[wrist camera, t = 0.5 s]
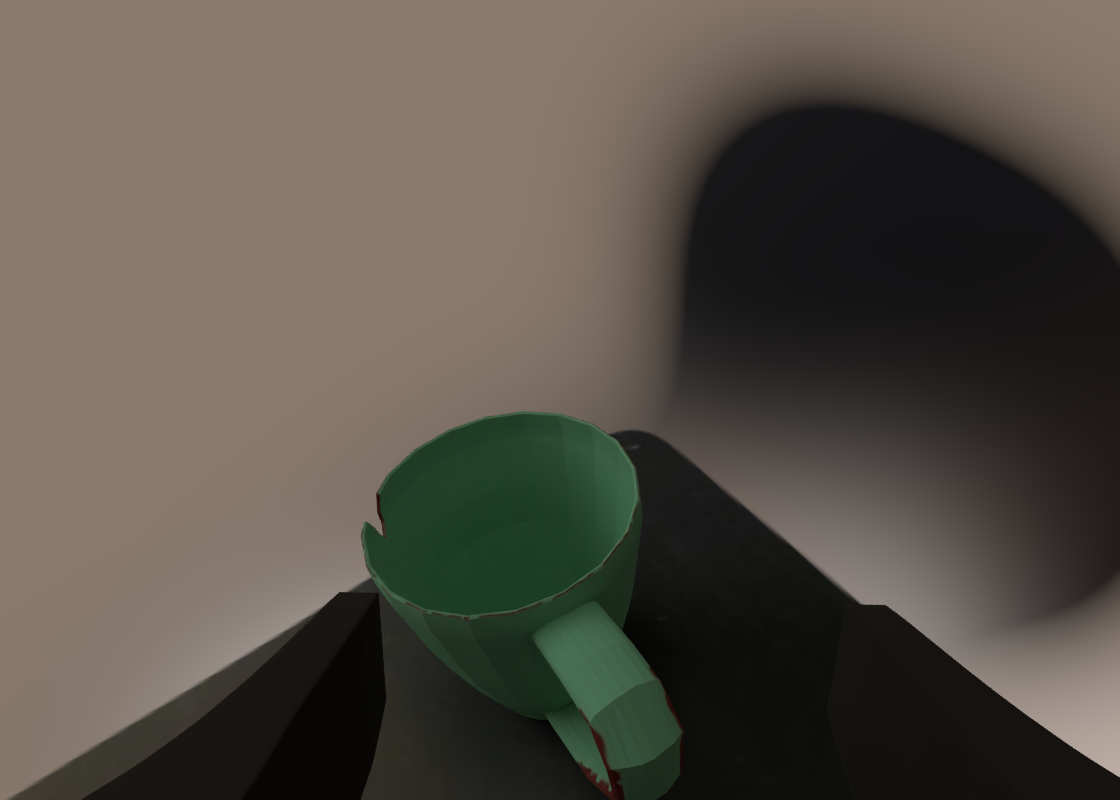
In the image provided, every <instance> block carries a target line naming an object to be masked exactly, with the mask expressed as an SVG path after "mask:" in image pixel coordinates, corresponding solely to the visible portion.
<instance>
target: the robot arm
mask: <svg viewBox="0 0 1120 800" xmlns="http://www.w3.org/2000/svg"><path fill="white" fill-rule="evenodd" d="M385 703H386V689H385V675H384V661H383V647H382V633H381V619H380V605H379V593H352V592H339V593H338V594H337V595H336V596H335V597H334V598H332V599H331V600H330V601H329V602H328V603H327V604H326V605H325V606H324V607H323V608H322V609H321V610H320V611H319V612H318V613H317V614H316V615H315V616H314V617H313V618H312V619H311V620H310V621H309V622H308V623H307V624H306V625H304V626H303V627H302V628H301V629H300V630H299V631H298V632H297V633H296V634H295V635H294V636H293V637H292V638H291V639H290V640H289V641H288V642H287V643H286V644H285V645H284V646H283V647H282V648H281V649H280V650H279V651H277V652H276V653H275V654H274V655H273V656H272V657H271V658H270V659H269V660H268V661H267V662H266V663H264V664H263V665H262V666H261V667H260V668H259V669H258V670H257V671H256V672H255V673H254V674H253V675H252V676H250V677H249V678H248V679H247V680H246V681H245V682H244V683H243V684H241V685H240V686H239V687H238V688H237V689H236V690H234V691H233V692H232V693H231V694H230V695H228V696H227V697H226V698H225V699H224V700H222V701H221V702H220V703H219V704H218V705H216V706H215V707H214V708H213V709H212V710H211V711H209V712H208V713H207V714H206V715H205V716H203V717H202V718H201V719H200V720H198V721H197V722H196V723H194V724H193V725H192V726H190V727H189V728H188V729H186V730H185V731H184V732H182V733H181V734H180V735H178V736H177V737H176V738H174V739H173V740H172V741H170V742H169V743H167V744H166V745H165V746H163V747H162V748H160V749H159V750H157V751H156V752H155V753H153V754H152V755H150V756H149V757H148V758H146V759H145V760H143V761H142V762H140V763H139V764H137V765H136V766H134V767H133V768H131V769H130V770H128V771H127V772H125V773H124V774H122V775H120V776H119V777H117V778H115V779H114V780H112V781H111V782H109V783H107V784H106V785H104V786H103V787H101V788H99V789H98V790H96V791H94V792H93V793H91V794H90V795H88V796H86V797H85V798H83V799H81V800H361V797H362V794H363V791H364V788H365V785H366V782H367V779H368V776H369V773H370V770H371V767H372V764H373V760H374V755H375V751H376V746H377V742H378V737H379V733H380V728H381V723H382V718H383V713H384V708H385ZM827 713H828V716H829V720H830V724H831V728H832V731H833V735H834V739H835V743H836V746H837V750H838V753H839V756H840V760H841V763H842V767H843V770H844V773H845V776H846V778H847V781H848V783H849V786H850V788H851V791H852V793H853V795H854V798H855V800H1120V777H1118V776H1116V775H1115V774H1113V773H1112V772H1110V771H1108V770H1107V769H1105V768H1103V767H1102V766H1100V765H1099V764H1097V763H1095V762H1094V761H1092V760H1091V759H1089V758H1088V757H1086V756H1085V755H1083V754H1082V753H1080V752H1079V751H1077V750H1076V749H1074V748H1073V747H1071V746H1070V745H1068V744H1067V743H1065V742H1064V741H1062V740H1061V739H1059V738H1058V737H1057V736H1055V735H1054V734H1052V733H1051V732H1050V731H1048V730H1047V729H1045V728H1044V727H1043V726H1041V725H1040V724H1038V723H1037V722H1035V721H1034V720H1033V719H1031V718H1030V717H1028V716H1027V715H1026V714H1024V713H1023V712H1022V711H1020V710H1019V709H1017V708H1016V707H1015V706H1014V705H1012V704H1011V703H1010V702H1008V701H1007V700H1006V699H1004V698H1003V697H1002V696H1000V695H999V694H997V693H996V692H995V691H993V690H992V689H991V688H990V687H988V686H987V685H986V684H985V683H983V682H982V681H981V680H980V679H978V678H977V677H976V676H974V675H973V674H972V673H971V672H969V671H968V670H967V669H966V668H964V667H963V666H962V665H961V664H959V663H958V662H957V661H956V660H954V659H953V658H952V657H951V656H949V655H948V654H947V653H946V652H944V651H943V650H942V649H941V648H940V647H938V646H937V645H936V644H935V643H933V642H932V641H931V640H930V639H928V638H927V637H926V636H925V635H923V634H922V633H921V632H920V631H918V630H917V629H916V628H915V627H914V626H912V625H911V624H910V623H908V622H907V621H906V620H905V619H903V618H902V617H901V616H900V615H898V614H897V613H896V612H894V611H893V610H891V609H890V608H889V607H887V606H886V605H857V604H846V606H845V611H844V617H843V622H842V628H841V634H840V639H839V645H838V650H837V656H836V661H835V667H834V672H833V678H832V684H831V689H830V695H829V700H828V706H827Z"/></svg>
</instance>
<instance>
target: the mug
mask: <svg viewBox="0 0 1120 800" xmlns="http://www.w3.org/2000/svg"><path fill="white" fill-rule="evenodd" d="M376 497H377V513H378V515H379V518H380V520H381V523H382V530H383V536H382V535H380V534H379V533H378V531H377V530H376V529H375V528H374V527H373V526H372V525H370V524H369V523H368V522H364V525H363V529H362V533H361V540H362V545H363V551H364V556H365V562H366V567H367V569H368V571H369V573H370V575H371V577H372V579H373V581H374V582H375V584H376V585H377V587H378V588H379V589H380V591H381V592H382V593H383V595H384V596H385V597H386V599H387V600H388V601H389V603H390V604H391V605H392V607H393V608H394V609H395V611H396V612H397V613H398V614H399V615H400V616H401V617H402V618H403V619H404V621H405V622H406V623H407V624H408V625H409V626H410V628H411V629H412V630H413V631H414V632H415V633H416V635H417V636H418V637H419V638H420V639H421V640H422V642H423V643H424V644H425V645H426V646H427V647H428V648H429V649H430V650H431V651H432V652H433V653H434V654H435V655H436V656H437V657H438V658H439V659H440V660H441V661H442V662H444V663H445V664H446V665H447V666H448V667H449V668H450V669H451V670H452V671H453V672H455V673H456V674H457V675H459V676H460V677H461V678H463V679H464V680H465V681H466V682H468V683H469V684H470V685H472V686H473V687H474V688H476V689H477V690H478V691H479V692H481V693H483V694H485V695H486V696H488V697H490V698H491V699H493V700H495V701H497V702H498V703H500V704H502V705H504V706H505V707H507V708H509V709H511V710H513V711H514V712H516V713H518V714H520V715H522V716H523V717H528V718H533V719H538V720H549V722H550V723H551V725H552V726H553V728H554V729H555V731H556V732H557V734H558V735H559V737H560V738H561V740H562V741H563V743H564V744H565V746H566V747H567V749H568V750H569V751H570V753H571V754H572V756H573V757H574V759H575V760H576V762H577V763H578V765H579V766H580V768H581V769H582V771H583V772H584V774H585V775H586V777H587V778H588V779H589V780H590V781H591V782H592V783H594V784H595V785H596V786H597V787H598V788H599V789H600V790H601V791H602V792H603V793H604V794H605V795H606V796H607V797H608V798H610V799H611V800H657V799H658V798H660V797H661V796H662V795H664V794H665V793H667V792H668V790H669V789H670V788H671V786H672V785H673V784H674V782H675V781H676V780H677V778H678V777H679V775H680V773H681V771H682V769H683V727H682V725H681V723H680V721H679V719H678V717H677V714H676V712H675V710H674V708H673V706H672V704H671V702H670V699H669V697H668V695H667V693H666V691H665V689H664V687H663V684H662V682H661V681H660V679H659V678H658V677H657V675H656V674H655V673H654V671H653V670H652V669H651V667H650V666H649V665H648V663H647V662H646V661H645V659H644V658H643V657H642V655H641V654H640V653H639V651H638V650H637V649H636V647H635V646H634V645H633V643H632V642H631V641H630V640H629V639H628V638H627V636H626V635H625V634H624V633H623V632H622V630H623V626H624V623H625V619H626V616H627V612H628V608H629V605H630V601H631V598H632V591H633V585H634V578H635V571H636V564H637V557H638V549H639V541H640V533H641V526H642V507H641V499H640V492H639V484H638V477H637V471H636V467H635V465H634V464H633V462H632V461H631V459H630V458H629V456H628V454H627V453H626V451H625V450H624V448H623V447H622V445H621V444H620V442H619V441H617V440H616V439H614V438H613V437H611V436H610V435H609V434H607V433H606V432H604V431H603V430H601V429H600V428H599V427H597V426H596V425H594V424H592V423H589V422H586V421H582V420H579V419H576V418H573V417H570V416H566V415H563V414H558V413H542V412H525V411H522V412H515V413H509V414H502V415H496V416H488V417H484V418H481V419H478V420H475V421H472V422H469V423H466V424H464V425H461V426H458V427H455V428H452V429H449V430H447V431H446V432H444V433H442V434H440V435H439V436H437V437H435V438H434V439H432V440H430V441H428V442H427V443H425V444H423V445H422V446H420V447H418V448H416V449H415V450H414V451H413V452H412V453H411V454H410V455H409V456H407V457H406V458H405V459H404V460H403V461H402V462H401V463H400V464H399V465H398V466H396V467H395V468H394V469H393V470H392V471H391V472H390V473H389V474H388V475H387V476H386V478H385V480H384V481H383V483H382V485H381V487H380V488H379V490H378V492H377V493H376Z"/></svg>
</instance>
